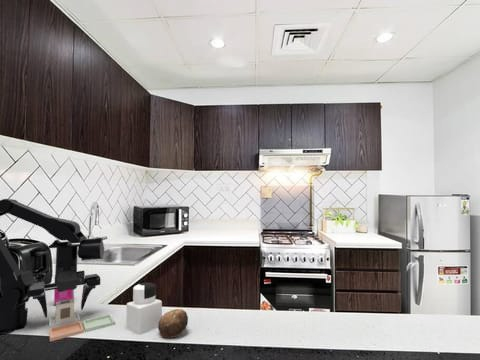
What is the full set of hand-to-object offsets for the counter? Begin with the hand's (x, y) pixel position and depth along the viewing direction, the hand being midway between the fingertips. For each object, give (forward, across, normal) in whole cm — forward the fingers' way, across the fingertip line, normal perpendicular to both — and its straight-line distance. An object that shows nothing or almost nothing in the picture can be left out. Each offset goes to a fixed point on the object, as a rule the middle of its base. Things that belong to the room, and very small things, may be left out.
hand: (64, 313), depth 82 cm
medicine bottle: (+3, +18, -21) cm, 28 cm away
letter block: (+2, 0, 0) cm, 2 cm away
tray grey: (+3, 0, 0) cm, 3 cm away
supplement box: (+3, +1, +23) cm, 23 cm away
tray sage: (+3, +8, -10) cm, 13 cm away
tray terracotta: (+3, 0, -10) cm, 10 cm away
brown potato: (+3, +23, -30) cm, 38 cm away
